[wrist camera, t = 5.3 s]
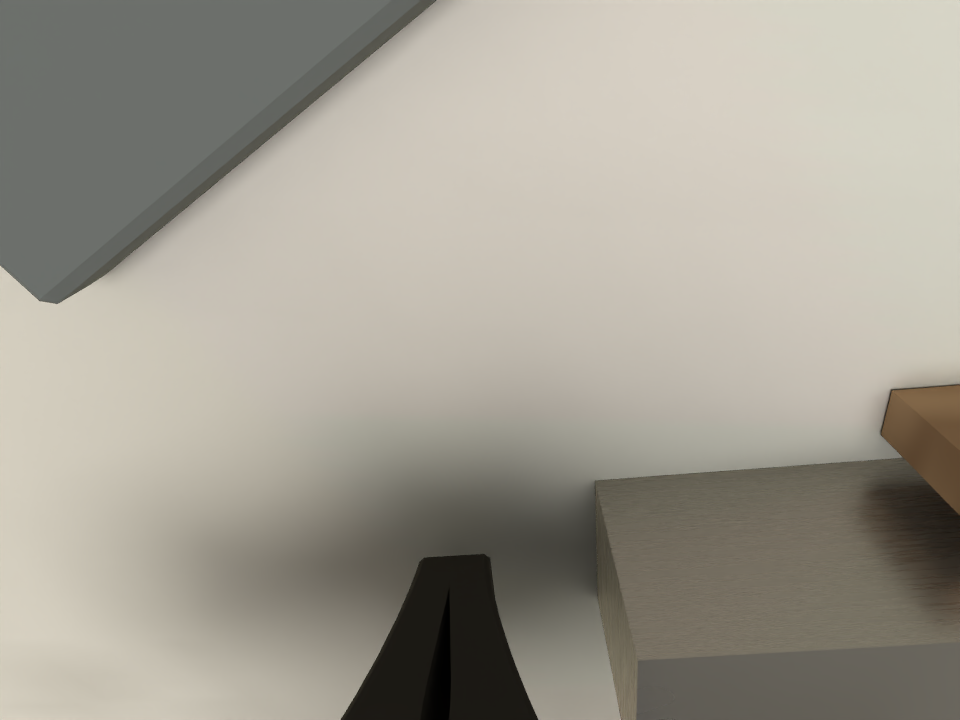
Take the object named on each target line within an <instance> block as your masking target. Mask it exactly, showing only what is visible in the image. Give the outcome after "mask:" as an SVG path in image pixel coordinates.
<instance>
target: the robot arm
mask: <svg viewBox="0 0 960 720" xmlns="http://www.w3.org/2000/svg"><path fill="white" fill-rule="evenodd" d="M341 720H538V718H537V716H536V714H535V712H534V709H533V707H532V705H531V702H530V700H529V698H528V695H527V693H526V691H525V688H524V686H523V683H522V681H521V678H520V676H519V673H518V671H517V668H516V665H515V662H514V660H513V657H512V654H511V651H510V648H509V645H508V642H507V639H506V636H505V633H504V630H503V627H502V624H501V620H500V617H499V613H498V609H497V605H496V601H495V595H494V587H493V579H492V570H491V562H490V558H489V557H488V556H486V555H485V554H476V555H460V556H443V557H427V558H423V559H422V560H421V561H420V562H419V565H418V568H417V571H416V574H415V577H414V579H413V582H412V584H411V587H410V589H409V592H408V594H407V596H406V599H405V601H404V603H403V605H402V608H401V610H400V612H399V614H398V617H397V619H396V621H395V623H394V625H393V627H392V629H391V631H390V633H389V635H388V637H387V639H386V641H385V643H384V645H383V647H382V649H381V651H380V653H379V655H378V657H377V658H376V660H375V662H374V664H373V666H372V667H371V669H370V671H369V673H368V674H367V676H366V678H365V680H364V681H363V683H362V685H361V687H360V689H359V690H358V692H357V694H356V696H355V697H354V699H353V701H352V702H351V704H350V705H349V707H348V709H347V710H346V712H345V714H344V715H343V717H342V718H341Z"/></svg>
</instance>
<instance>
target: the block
mask: <svg viewBox="0 0 960 720" xmlns="http://www.w3.org/2000/svg"><path fill="white" fill-rule="evenodd" d="M595 505H596V551H597V597H598V602H599V607H600V612H601V618H602V623H603V628H604V633H605V638H606V643H607V649H608V654H609V659H610V664H611V669H612V674H613V680H614V685H615V690H616V695H617V700H618V705H619V711H620V716H621V720H960V515H959V514H958V513H957V512H956V511H955V510H954V509H953V508H952V507H951V506H950V505H949V504H948V503H947V502H946V501H945V500H944V499H943V498H942V497H941V496H940V495H939V494H938V493H937V492H936V491H935V490H934V489H933V488H932V487H931V486H930V484H929V483H928V482H927V481H926V480H925V479H924V478H923V477H922V476H921V475H920V474H919V473H918V472H917V471H916V470H915V469H914V468H913V467H912V466H911V465H910V464H909V463H908V462H907V461H906V460H905V459H904V458H895V459H882V460H868V461H855V462H841V463H827V464H814V465H800V466H787V467H773V468H759V469H746V470H732V471H719V472H705V473H691V474H678V475H664V476H651V477H637V478H623V479H610V480H596V481H595Z"/></svg>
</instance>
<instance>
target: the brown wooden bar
mask: <svg viewBox="0 0 960 720" xmlns="http://www.w3.org/2000/svg"><path fill="white" fill-rule="evenodd" d="M881 435H882V436H883V437H884V438H885V439H886V440H887V441H888V443H889V444H890V445H891V446H892V447H893V448H894V449H895V450H896V451H897V452H898V453H899V454H900V455H901V456H902V457H903V458H904V459H905V460H906V461H907V462H908V463H909V464H910V465H911V466H912V467H913V468H914V469H915V470H916V471H917V472H918V473H919V474H920V475H921V476H922V477H923V478H924V479H925V480H926V481H927V482H928V483H929V484H930V486H931V487H932V488H933V489H934V490H935V491H936V492H937V493H938V494H939V495H940V496H941V497H942V498H943V499H944V500H945V501H946V502H947V503H948V504H949V505H950V506H951V507H952V508H953V509H954V510H955V511H956V512H957V513H958V514H959V515H960V385H955V386H943V387H930V388H917V389H905V390H892V393H891V397H890V401H889V405H888V409H887V413H886V417H885V421H884V425H883V429H882V433H881Z"/></svg>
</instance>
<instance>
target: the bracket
mask: <svg viewBox="0 0 960 720" xmlns="http://www.w3.org/2000/svg"><path fill="white" fill-rule="evenodd" d="M435 1H436V0H0V266H1V267H3V268H4V269H5V270H6V271H7V272H8V273H9V274H10V275H11V276H13V277H14V278H15V279H16V280H17V281H18V282H19V283H20V284H21V285H22V286H24V287H25V288H26V289H27V290H28V291H29V292H30V293H31V294H32V295H34V296H35V297H36V298H37V299H38V300H39V301H43V302H49V303H55V304H58V303H60V302H62V301H63V300H65V299H67V298H68V297H70V296H72V295H73V294H75V293H77V292H79V291H80V290H82V289H84V288H85V287H87V286H89V285H90V284H92V283H93V282H95V281H96V280H98V279H99V278H101V277H102V276H104V275H105V274H107V273H108V272H109V271H110V270H112V269H113V268H114V267H115V266H116V265H118V264H119V263H120V262H121V261H122V260H124V259H125V258H126V257H127V256H128V255H130V254H131V253H132V252H133V251H134V250H136V249H137V248H138V247H139V246H140V245H142V244H143V243H144V242H145V241H147V240H148V239H149V238H150V237H151V236H153V235H154V234H155V233H156V232H157V231H159V230H160V229H161V228H162V227H163V226H165V225H166V224H167V223H168V222H169V221H171V220H172V219H173V218H174V217H175V216H177V215H178V214H179V213H180V212H182V211H183V210H184V209H185V208H186V207H188V206H189V205H190V204H191V203H192V202H194V201H195V200H196V199H197V198H198V197H200V196H201V195H202V194H203V193H204V192H206V191H207V190H208V189H209V188H210V187H212V186H213V185H214V184H215V183H217V182H218V181H219V180H220V179H221V178H223V177H224V176H225V175H226V174H227V173H229V172H230V171H231V170H232V169H233V168H235V167H236V166H237V165H238V164H239V163H241V162H242V161H243V160H244V159H246V158H247V157H248V156H249V155H250V154H252V153H253V152H254V151H255V150H256V149H258V148H259V147H260V146H261V145H262V144H264V143H265V142H266V141H267V140H268V139H270V138H271V137H272V136H273V135H274V134H276V133H277V132H278V131H279V130H281V129H282V128H283V127H284V126H285V125H287V124H288V123H289V122H290V121H291V120H293V119H294V118H295V117H296V116H297V115H299V114H300V113H301V112H302V111H303V110H305V109H306V108H307V107H308V106H309V105H311V104H312V103H313V102H314V101H316V100H317V99H318V98H319V97H320V96H322V95H323V94H324V93H325V92H326V91H328V90H329V89H330V88H331V87H332V86H334V85H335V84H336V83H337V82H338V81H340V80H341V79H342V78H343V77H344V76H346V75H347V74H348V73H349V72H351V71H352V70H353V69H354V68H355V67H357V66H358V65H359V64H360V63H361V62H363V61H364V60H365V59H366V58H367V57H369V56H370V55H371V54H372V53H373V52H375V51H376V50H377V49H378V48H379V47H381V46H382V45H383V44H384V43H386V42H387V41H388V40H389V39H390V38H392V37H393V36H394V35H395V34H396V33H398V32H399V31H400V30H401V29H402V28H404V27H405V26H406V25H407V24H408V23H410V22H411V21H412V20H413V19H414V18H416V17H417V16H418V15H419V14H421V13H422V12H423V11H424V10H425V9H427V8H428V7H429V6H430V5H431V4H433V3H434V2H435Z"/></svg>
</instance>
